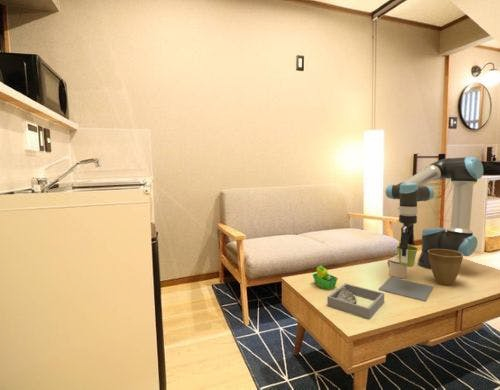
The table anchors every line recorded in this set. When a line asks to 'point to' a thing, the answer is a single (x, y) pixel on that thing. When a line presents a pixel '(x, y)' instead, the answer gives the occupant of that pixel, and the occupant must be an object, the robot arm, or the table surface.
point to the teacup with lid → (396, 268)
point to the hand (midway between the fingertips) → (406, 259)
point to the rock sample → (346, 296)
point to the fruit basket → (324, 278)
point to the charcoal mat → (407, 288)
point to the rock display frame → (355, 308)
